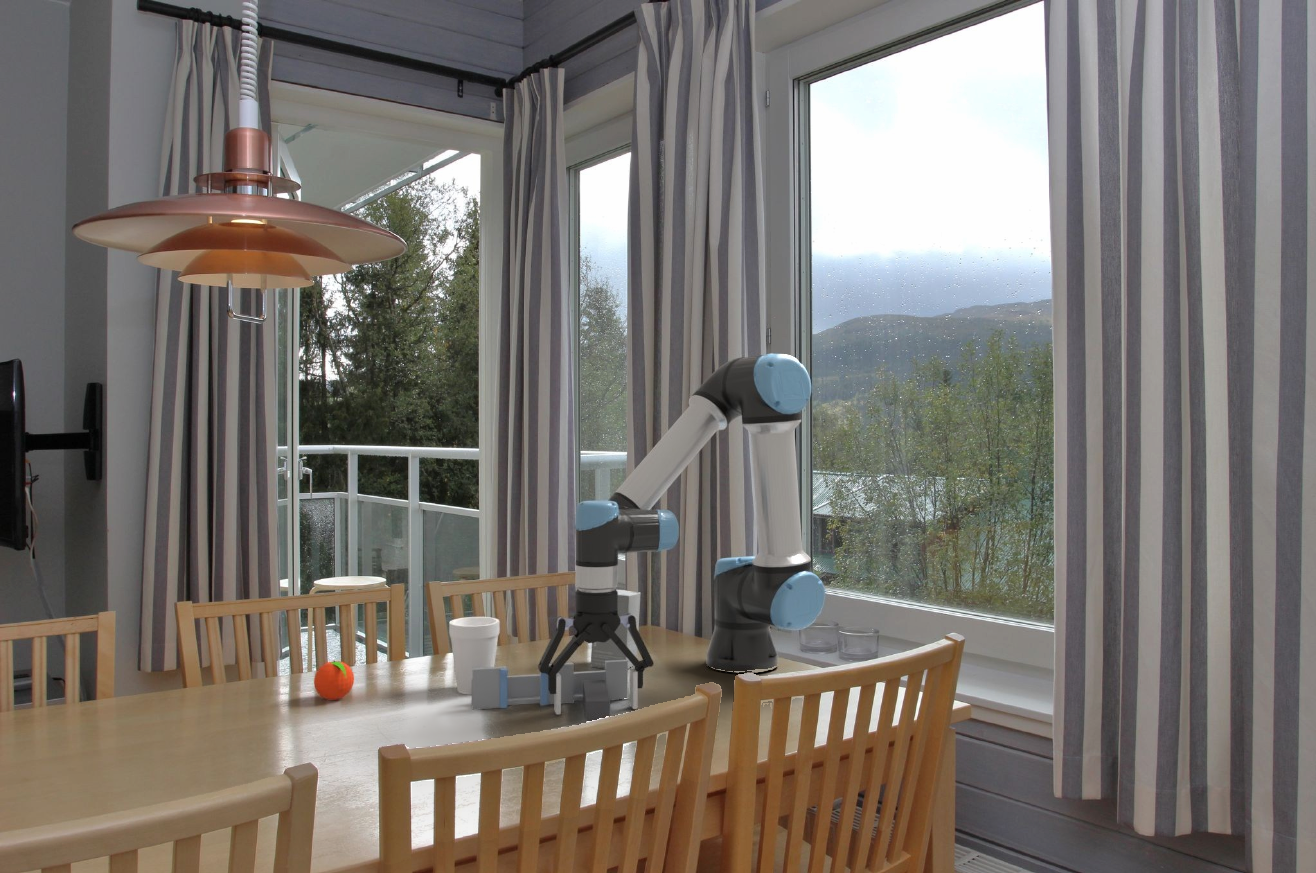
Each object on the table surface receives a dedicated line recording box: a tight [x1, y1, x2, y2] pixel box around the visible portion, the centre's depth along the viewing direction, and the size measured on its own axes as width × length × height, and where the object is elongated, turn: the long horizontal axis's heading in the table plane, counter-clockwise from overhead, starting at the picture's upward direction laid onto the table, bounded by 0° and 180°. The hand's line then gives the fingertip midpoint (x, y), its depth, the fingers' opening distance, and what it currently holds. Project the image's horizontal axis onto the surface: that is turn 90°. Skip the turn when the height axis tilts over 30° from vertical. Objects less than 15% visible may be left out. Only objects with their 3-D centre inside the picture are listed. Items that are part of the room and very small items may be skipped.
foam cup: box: [448, 616, 500, 695], centre depth 179 cm, size 10×9×13 cm
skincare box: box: [590, 589, 642, 670], centre depth 198 cm, size 8×7×16 cm
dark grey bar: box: [582, 680, 611, 722], centre depth 165 cm, size 4×14×4 cm, turn 7°
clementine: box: [313, 659, 355, 701], centre depth 172 cm, size 8×7×7 cm
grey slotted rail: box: [470, 660, 629, 710], centre depth 171 cm, size 28×5×7 cm, turn 104°
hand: (595, 709), depth 165 cm, fingers open, 13 cm apart
